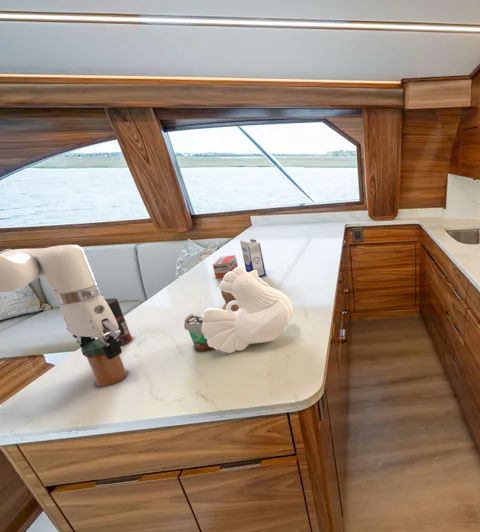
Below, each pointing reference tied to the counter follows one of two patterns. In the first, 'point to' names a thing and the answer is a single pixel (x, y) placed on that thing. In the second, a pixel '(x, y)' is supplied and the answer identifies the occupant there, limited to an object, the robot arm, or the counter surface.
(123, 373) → the jar
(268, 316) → the decorative rooster
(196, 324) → the food container
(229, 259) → the medicine box
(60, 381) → the counter surface
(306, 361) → the counter surface
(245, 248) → the milk carton
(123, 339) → the deodorant
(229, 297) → the stone cup
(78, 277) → the robot arm
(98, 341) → the lid
